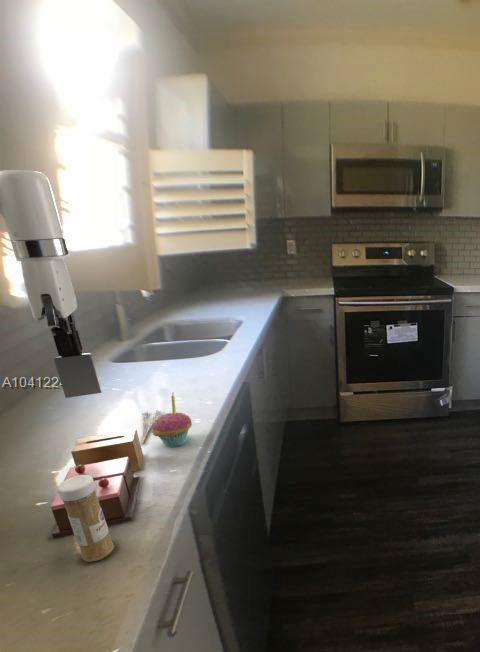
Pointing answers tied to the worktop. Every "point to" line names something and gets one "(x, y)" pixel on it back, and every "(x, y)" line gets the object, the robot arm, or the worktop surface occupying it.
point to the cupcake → (172, 427)
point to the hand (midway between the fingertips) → (71, 352)
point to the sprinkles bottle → (86, 517)
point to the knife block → (109, 448)
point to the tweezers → (149, 424)
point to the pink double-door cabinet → (103, 493)
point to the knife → (77, 372)
